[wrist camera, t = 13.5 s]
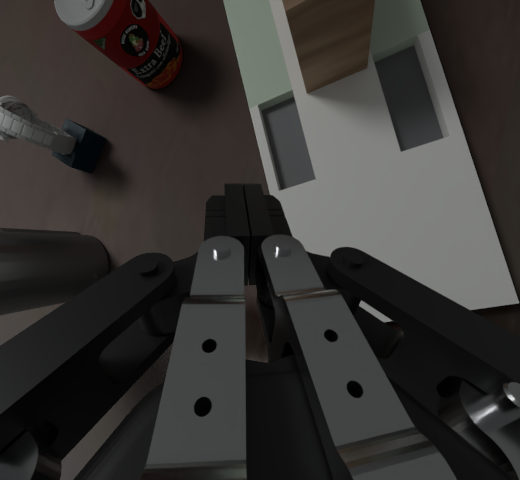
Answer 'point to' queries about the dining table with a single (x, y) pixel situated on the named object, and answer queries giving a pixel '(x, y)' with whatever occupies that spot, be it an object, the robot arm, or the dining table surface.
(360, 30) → the walnut block
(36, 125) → the watch
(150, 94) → the dining table surface
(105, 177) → the dining table surface
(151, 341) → the robot arm
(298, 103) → the trap lane
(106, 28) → the canned food
